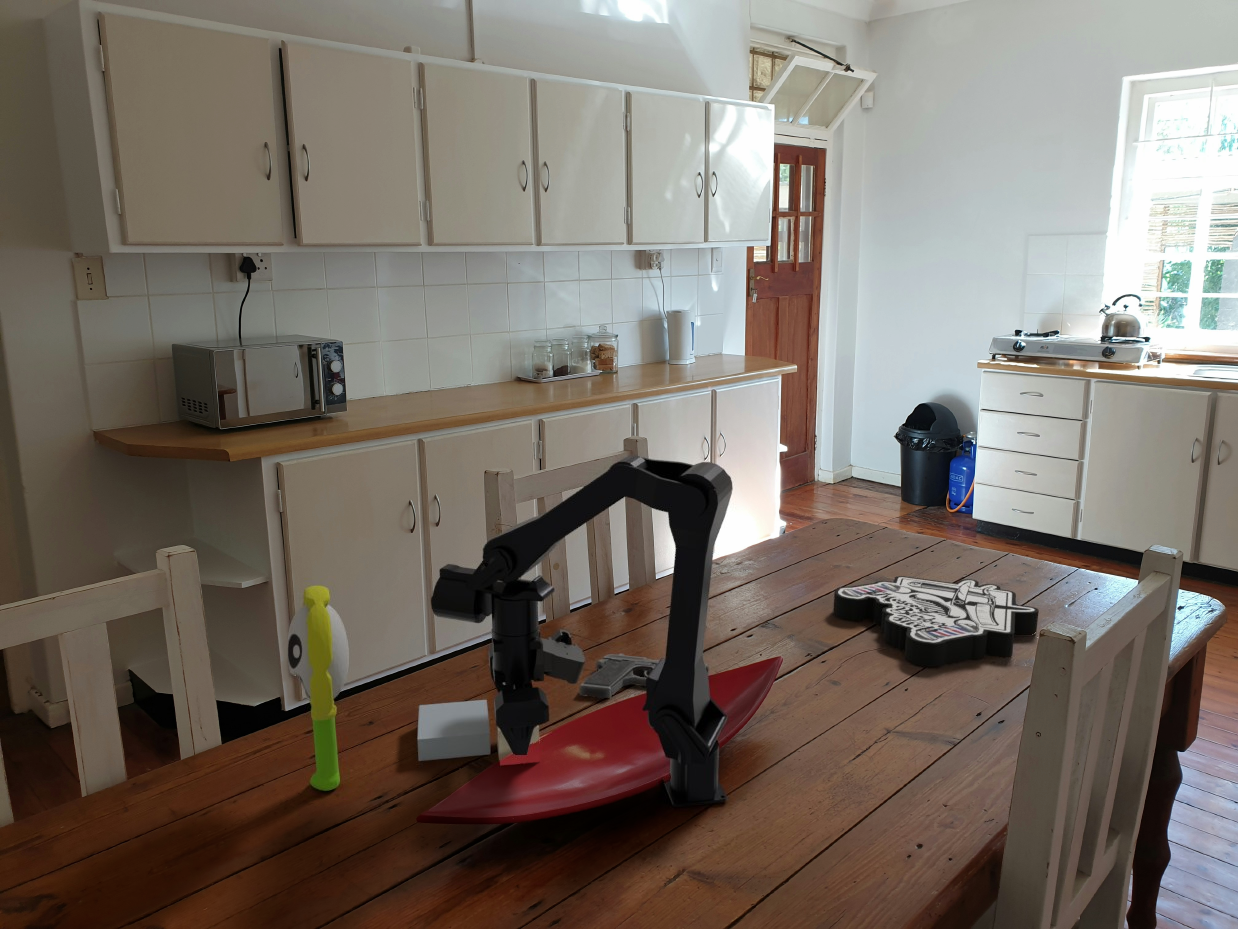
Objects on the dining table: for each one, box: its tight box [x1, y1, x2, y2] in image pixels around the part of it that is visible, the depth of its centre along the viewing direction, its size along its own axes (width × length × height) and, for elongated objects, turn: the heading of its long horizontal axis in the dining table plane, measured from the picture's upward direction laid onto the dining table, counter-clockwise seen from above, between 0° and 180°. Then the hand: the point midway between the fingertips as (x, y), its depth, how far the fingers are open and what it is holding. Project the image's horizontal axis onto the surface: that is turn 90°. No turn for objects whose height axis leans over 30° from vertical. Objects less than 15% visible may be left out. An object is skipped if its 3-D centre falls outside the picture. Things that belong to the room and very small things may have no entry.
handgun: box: [579, 653, 710, 699], centre depth 137 cm, size 2×17×12 cm
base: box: [417, 699, 491, 762], centre depth 121 cm, size 9×9×3 cm
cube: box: [496, 725, 540, 761], centre depth 118 cm, size 5×5×5 cm
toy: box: [286, 585, 350, 792], centre depth 108 cm, size 15×7×25 cm, turn 21°
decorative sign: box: [832, 575, 1040, 670], centre depth 158 cm, size 28×4×30 cm
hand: (518, 741), depth 118 cm, fingers open, 9 cm apart
